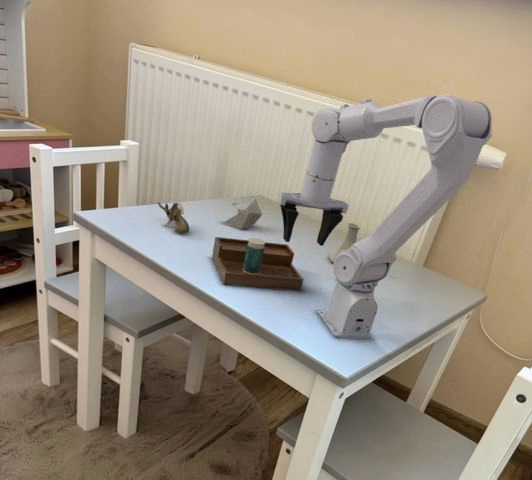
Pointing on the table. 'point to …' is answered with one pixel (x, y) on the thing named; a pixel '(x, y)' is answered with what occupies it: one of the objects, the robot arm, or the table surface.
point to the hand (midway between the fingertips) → (303, 242)
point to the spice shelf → (271, 271)
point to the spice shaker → (253, 255)
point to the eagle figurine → (176, 217)
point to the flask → (346, 240)
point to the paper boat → (245, 216)
